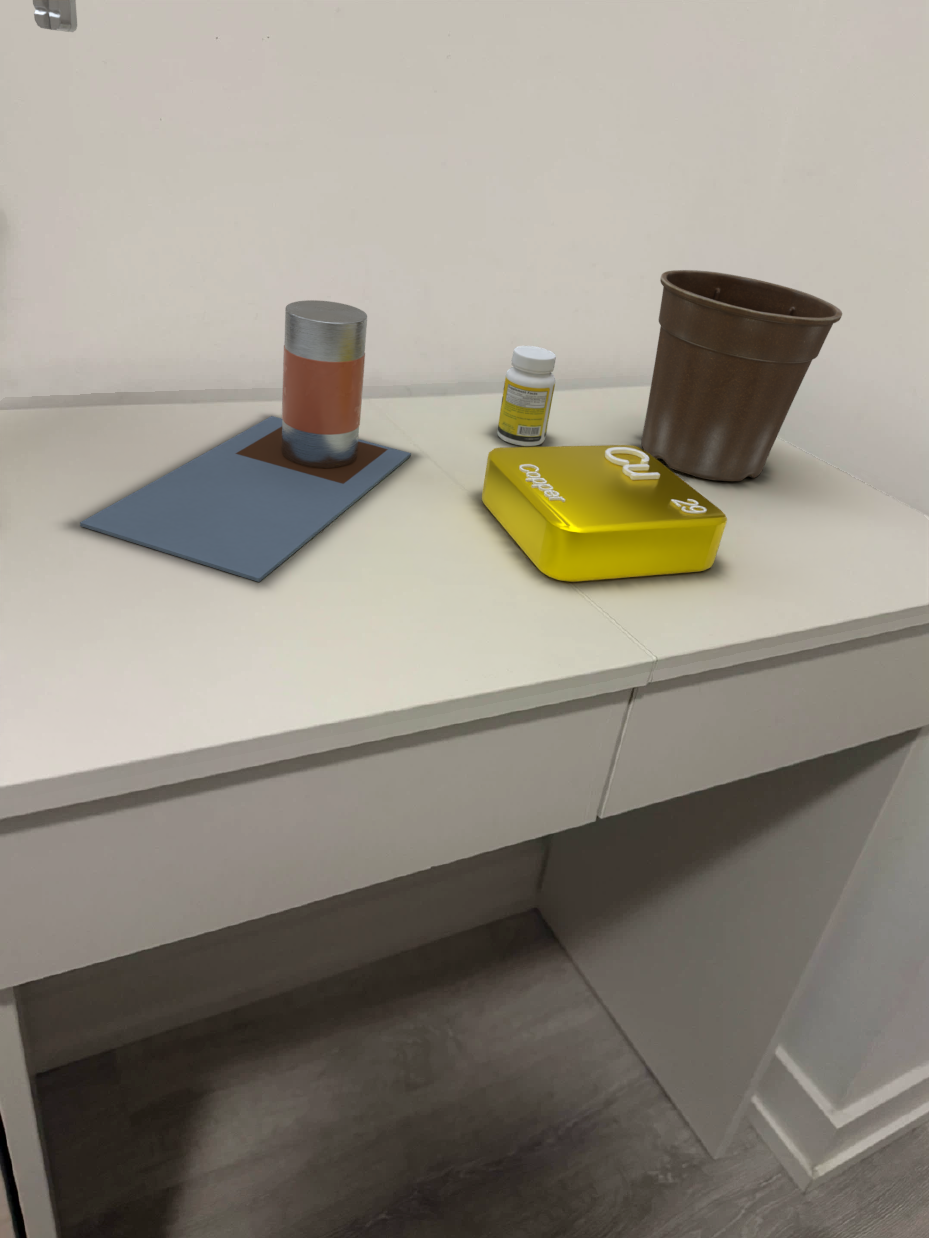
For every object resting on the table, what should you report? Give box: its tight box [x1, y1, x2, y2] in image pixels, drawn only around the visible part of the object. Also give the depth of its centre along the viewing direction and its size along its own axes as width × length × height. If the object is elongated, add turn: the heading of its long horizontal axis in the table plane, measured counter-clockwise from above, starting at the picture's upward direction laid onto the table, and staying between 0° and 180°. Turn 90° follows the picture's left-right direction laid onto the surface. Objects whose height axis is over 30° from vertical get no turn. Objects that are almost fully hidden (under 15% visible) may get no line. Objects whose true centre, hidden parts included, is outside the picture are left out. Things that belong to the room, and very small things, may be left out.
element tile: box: [481, 444, 728, 583], centre depth 72 cm, size 15×15×5 cm
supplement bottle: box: [496, 345, 557, 447], centre depth 86 cm, size 5×5×8 cm
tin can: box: [281, 299, 368, 468], centre depth 75 cm, size 6×6×12 cm
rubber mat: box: [79, 415, 412, 583], centre depth 72 cm, size 14×26×1 cm, turn 160°
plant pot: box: [640, 269, 843, 482], centre depth 86 cm, size 16×16×16 cm
